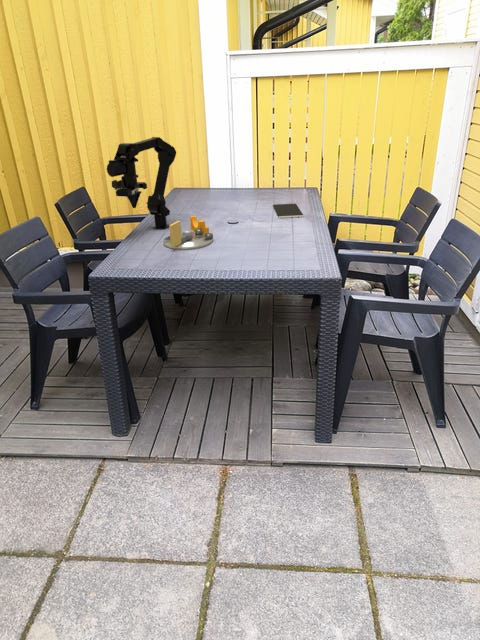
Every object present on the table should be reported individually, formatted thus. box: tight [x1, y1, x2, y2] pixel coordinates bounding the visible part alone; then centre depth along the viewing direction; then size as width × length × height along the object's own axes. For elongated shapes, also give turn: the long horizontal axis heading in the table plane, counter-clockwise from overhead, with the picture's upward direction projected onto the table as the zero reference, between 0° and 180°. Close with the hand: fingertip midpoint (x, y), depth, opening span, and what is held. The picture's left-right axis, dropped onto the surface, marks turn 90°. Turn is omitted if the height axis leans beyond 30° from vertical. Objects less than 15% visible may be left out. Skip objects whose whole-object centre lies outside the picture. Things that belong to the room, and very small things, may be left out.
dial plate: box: [162, 228, 214, 251], centre depth 214 cm, size 22×22×3 cm
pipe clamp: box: [189, 215, 210, 234], centre depth 228 cm, size 12×4×6 cm, turn 27°
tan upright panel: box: [168, 220, 193, 247], centre depth 207 cm, size 15×4×10 cm, turn 156°
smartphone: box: [272, 203, 305, 220], centre depth 257 cm, size 13×27×2 cm, turn 3°
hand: (134, 208), depth 221 cm, fingers closed
